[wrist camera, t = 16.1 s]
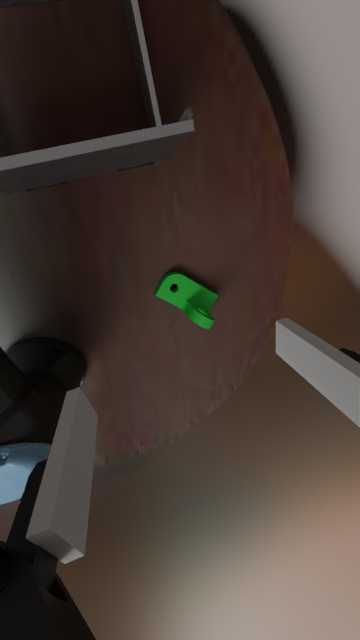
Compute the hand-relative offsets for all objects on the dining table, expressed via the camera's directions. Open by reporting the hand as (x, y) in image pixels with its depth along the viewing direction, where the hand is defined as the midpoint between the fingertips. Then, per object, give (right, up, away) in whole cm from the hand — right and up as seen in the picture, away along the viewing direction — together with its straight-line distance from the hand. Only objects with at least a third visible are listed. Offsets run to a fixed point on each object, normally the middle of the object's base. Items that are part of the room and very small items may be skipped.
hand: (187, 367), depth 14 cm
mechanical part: (+1, +9, +32) cm, 33 cm away
